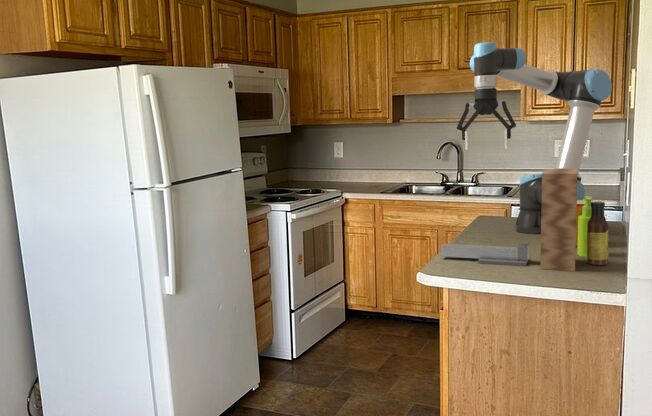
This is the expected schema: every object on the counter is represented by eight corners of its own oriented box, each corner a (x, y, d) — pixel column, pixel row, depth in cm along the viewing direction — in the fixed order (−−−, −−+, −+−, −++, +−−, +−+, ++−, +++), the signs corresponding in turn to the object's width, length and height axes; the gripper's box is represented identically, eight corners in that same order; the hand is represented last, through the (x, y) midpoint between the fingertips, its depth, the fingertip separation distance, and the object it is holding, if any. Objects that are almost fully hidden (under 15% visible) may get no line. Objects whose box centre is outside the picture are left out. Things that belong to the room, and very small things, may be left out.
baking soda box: (572, 241, 224) (573, 198, 222) (591, 242, 222) (592, 199, 220) (573, 247, 216) (574, 203, 213) (593, 248, 213) (594, 203, 211)
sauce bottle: (612, 265, 190) (614, 202, 187) (594, 267, 189) (596, 204, 186) (599, 260, 197) (601, 200, 194) (582, 262, 196) (583, 201, 193)
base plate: (478, 263, 199) (478, 260, 199) (482, 256, 207) (482, 254, 207) (526, 266, 193) (526, 263, 193) (528, 259, 202) (528, 256, 201)
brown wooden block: (540, 269, 189) (542, 173, 185) (542, 258, 202) (544, 168, 197) (575, 271, 186) (577, 173, 181) (575, 260, 198) (577, 168, 194)
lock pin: (440, 256, 206) (440, 242, 205) (443, 253, 210) (443, 239, 209) (527, 261, 195) (527, 247, 194) (528, 258, 199) (528, 243, 199)
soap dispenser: (577, 257, 202) (578, 197, 199) (577, 252, 208) (578, 194, 205) (596, 258, 200) (598, 198, 197) (595, 253, 206) (597, 195, 203)
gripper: (447, 90, 213) (449, 150, 217) (522, 85, 204) (522, 148, 207) (451, 90, 220) (453, 148, 224) (523, 85, 211) (523, 146, 214)
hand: (486, 148), depth 215 cm, fingers open, 13 cm apart
